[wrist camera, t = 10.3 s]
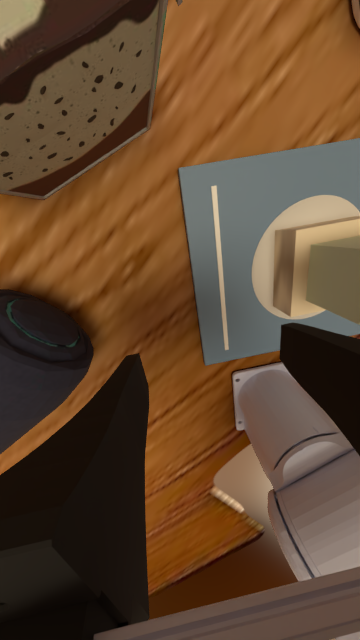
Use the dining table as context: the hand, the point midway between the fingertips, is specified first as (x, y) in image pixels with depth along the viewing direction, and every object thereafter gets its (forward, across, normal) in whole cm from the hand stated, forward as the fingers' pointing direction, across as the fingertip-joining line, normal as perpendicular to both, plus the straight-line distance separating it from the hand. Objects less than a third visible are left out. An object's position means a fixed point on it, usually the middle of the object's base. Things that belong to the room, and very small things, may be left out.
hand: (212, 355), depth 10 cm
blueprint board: (+10, -12, -1) cm, 16 cm away
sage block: (+7, -12, -1) cm, 14 cm away
